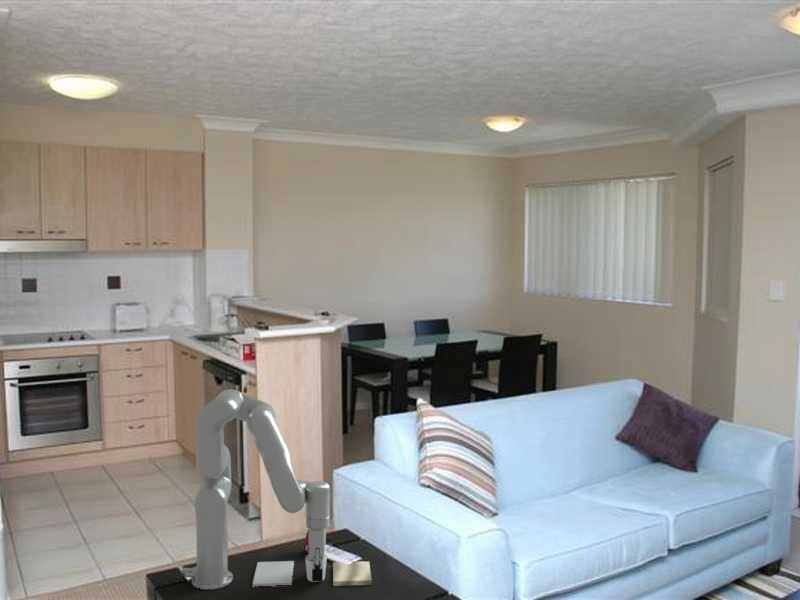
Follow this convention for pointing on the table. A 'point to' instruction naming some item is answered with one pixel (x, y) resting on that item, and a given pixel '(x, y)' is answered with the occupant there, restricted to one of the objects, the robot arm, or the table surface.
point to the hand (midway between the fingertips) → (317, 575)
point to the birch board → (351, 574)
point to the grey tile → (273, 573)
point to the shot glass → (310, 566)
